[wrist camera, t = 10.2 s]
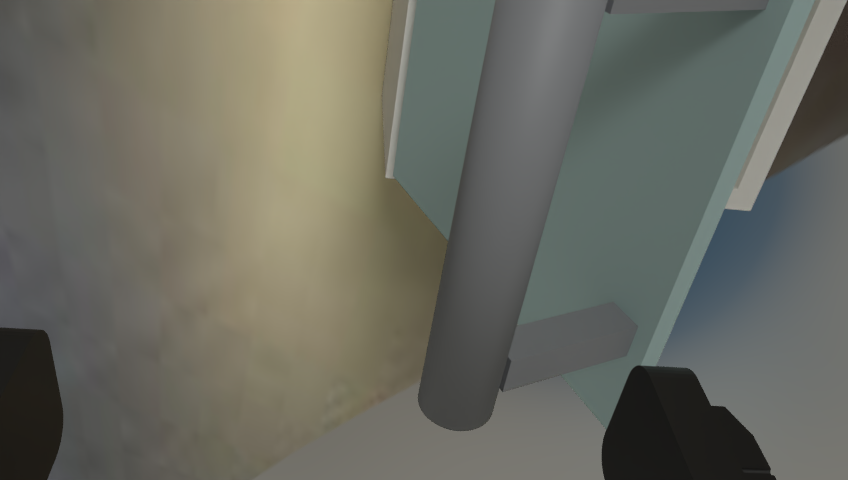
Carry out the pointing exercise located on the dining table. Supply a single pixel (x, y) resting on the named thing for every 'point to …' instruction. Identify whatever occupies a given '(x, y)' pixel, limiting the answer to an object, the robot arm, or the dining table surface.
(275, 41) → the dining table surface
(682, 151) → the door
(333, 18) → the dining table surface
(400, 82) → the cabinet
